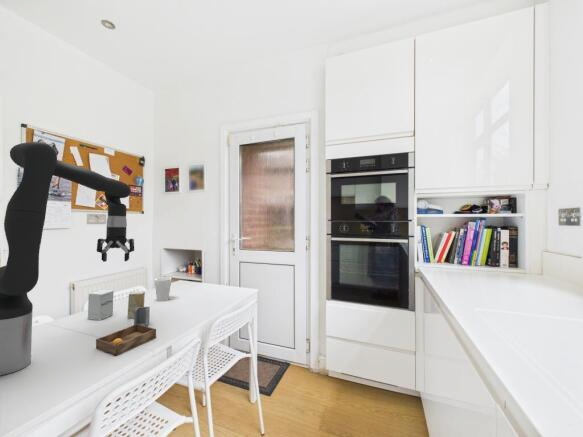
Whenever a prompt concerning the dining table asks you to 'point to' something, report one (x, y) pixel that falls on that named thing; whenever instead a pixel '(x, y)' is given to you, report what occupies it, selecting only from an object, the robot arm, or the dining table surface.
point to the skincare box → (135, 302)
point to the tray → (125, 339)
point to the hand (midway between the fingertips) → (115, 261)
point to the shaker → (142, 316)
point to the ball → (117, 341)
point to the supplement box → (100, 304)
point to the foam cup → (162, 288)
